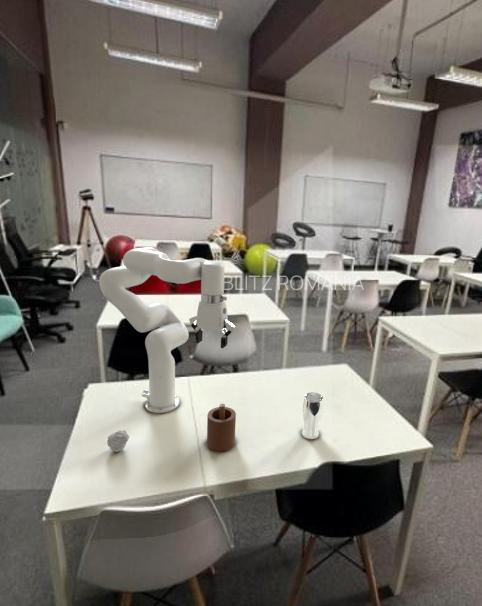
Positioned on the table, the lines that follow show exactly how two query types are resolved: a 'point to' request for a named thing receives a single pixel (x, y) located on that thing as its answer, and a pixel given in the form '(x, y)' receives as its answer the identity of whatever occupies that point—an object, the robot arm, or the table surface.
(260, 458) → the table surface
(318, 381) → the table surface
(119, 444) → the grey crumpled ball
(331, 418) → the table surface
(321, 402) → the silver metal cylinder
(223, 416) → the brush
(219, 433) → the cylindrical holder
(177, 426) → the table surface
